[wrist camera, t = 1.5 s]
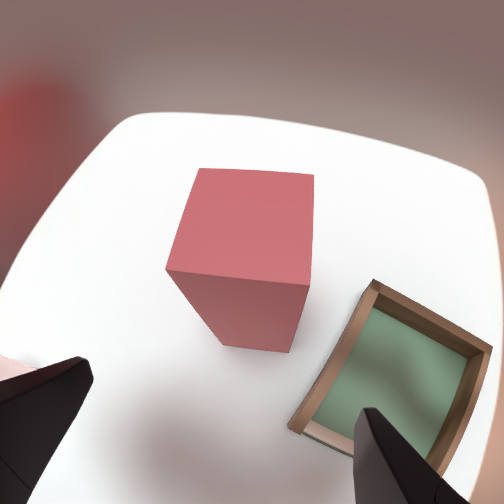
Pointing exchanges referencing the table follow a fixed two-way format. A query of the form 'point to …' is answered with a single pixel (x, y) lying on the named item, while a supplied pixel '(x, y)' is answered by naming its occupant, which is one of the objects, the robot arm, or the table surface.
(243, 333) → the post
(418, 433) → the box
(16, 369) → the can
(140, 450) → the table surface
